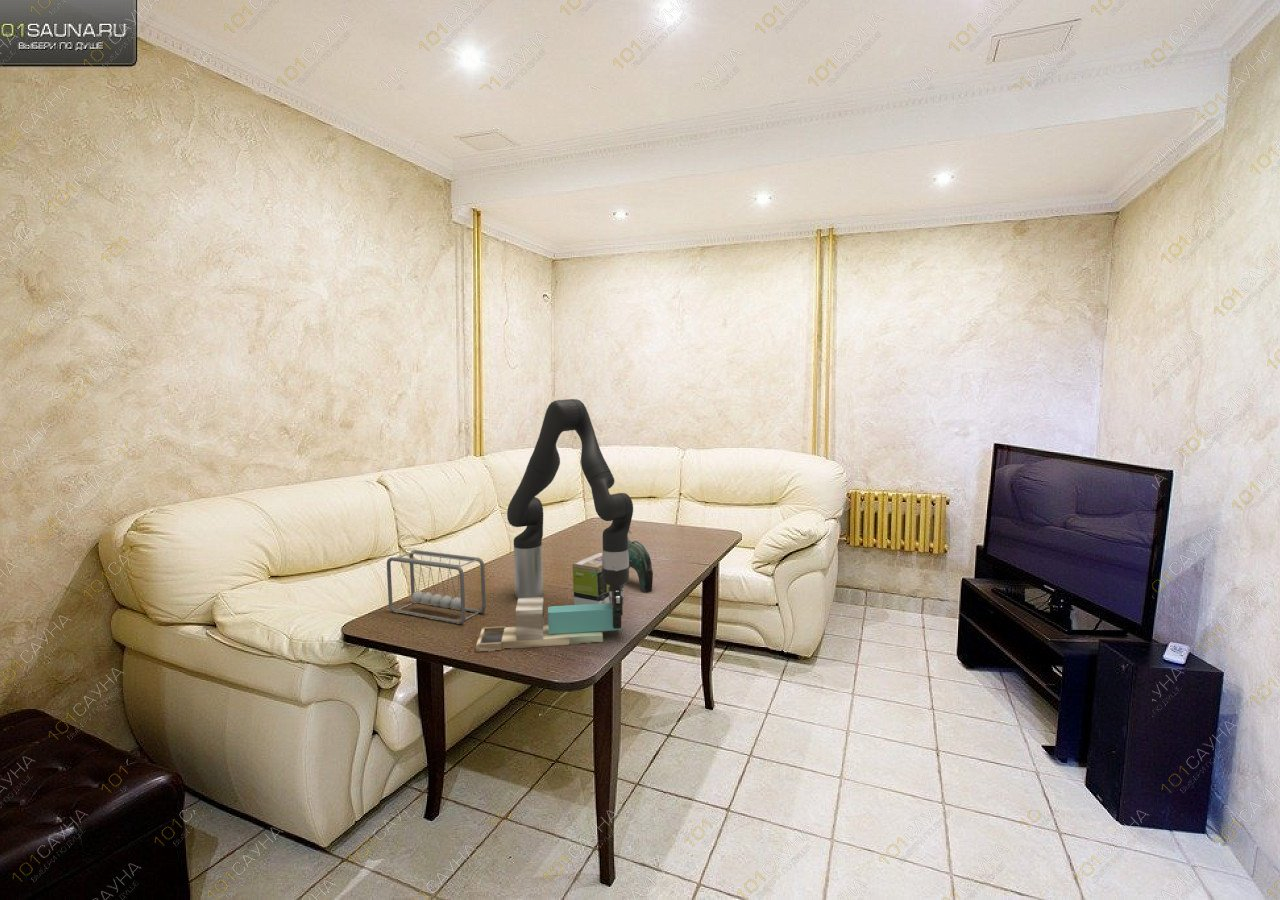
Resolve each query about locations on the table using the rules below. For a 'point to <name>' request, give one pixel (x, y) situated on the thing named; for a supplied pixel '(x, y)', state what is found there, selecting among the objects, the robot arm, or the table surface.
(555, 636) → the tunnel track
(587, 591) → the tea box
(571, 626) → the teal block
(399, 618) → the table surface
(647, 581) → the ceramic cat
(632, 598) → the table surface
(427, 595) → the newton's cradle
